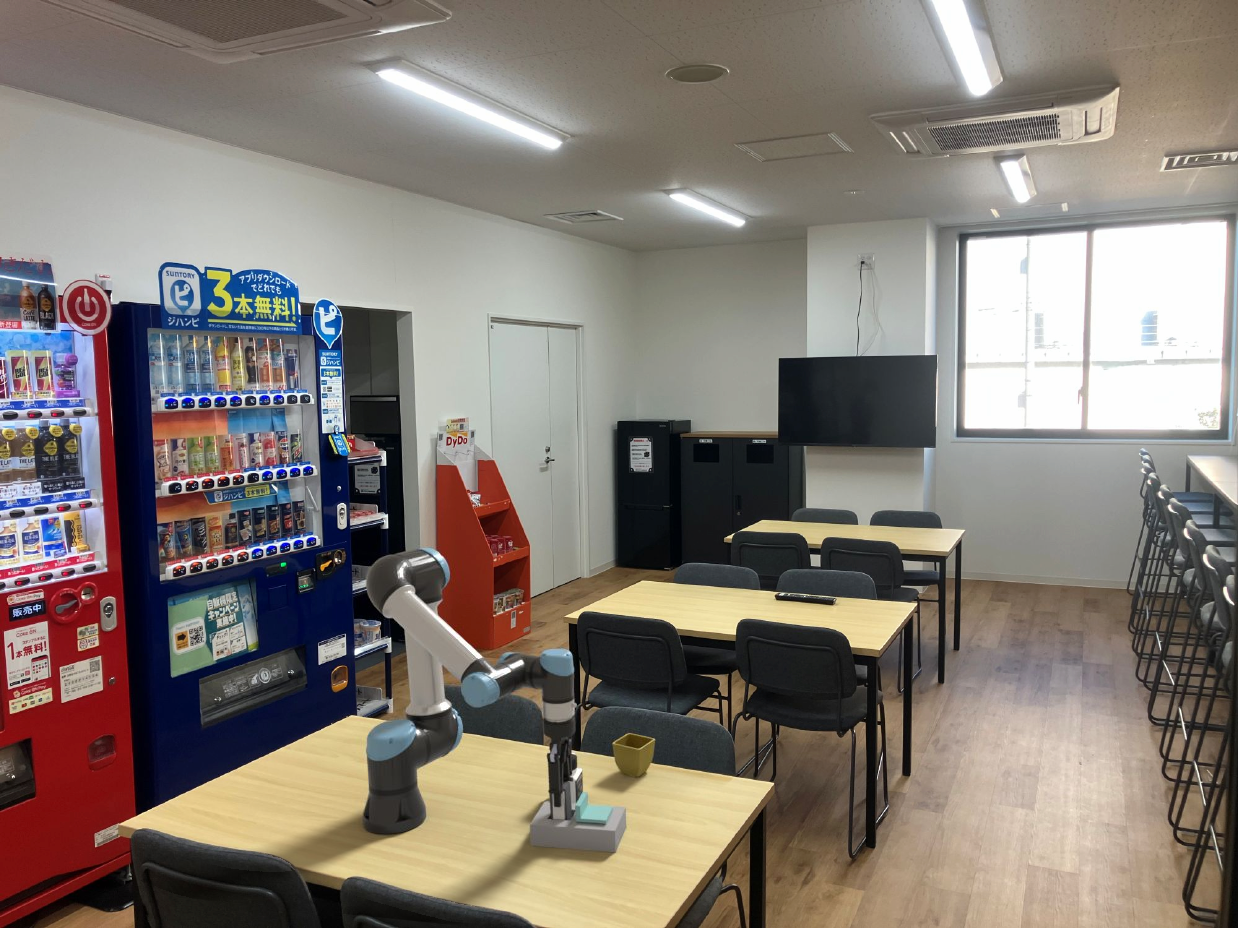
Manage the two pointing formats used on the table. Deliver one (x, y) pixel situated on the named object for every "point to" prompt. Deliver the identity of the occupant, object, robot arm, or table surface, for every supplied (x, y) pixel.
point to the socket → (577, 831)
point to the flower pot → (633, 754)
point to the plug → (567, 802)
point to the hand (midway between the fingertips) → (562, 813)
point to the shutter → (591, 811)
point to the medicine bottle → (575, 781)
